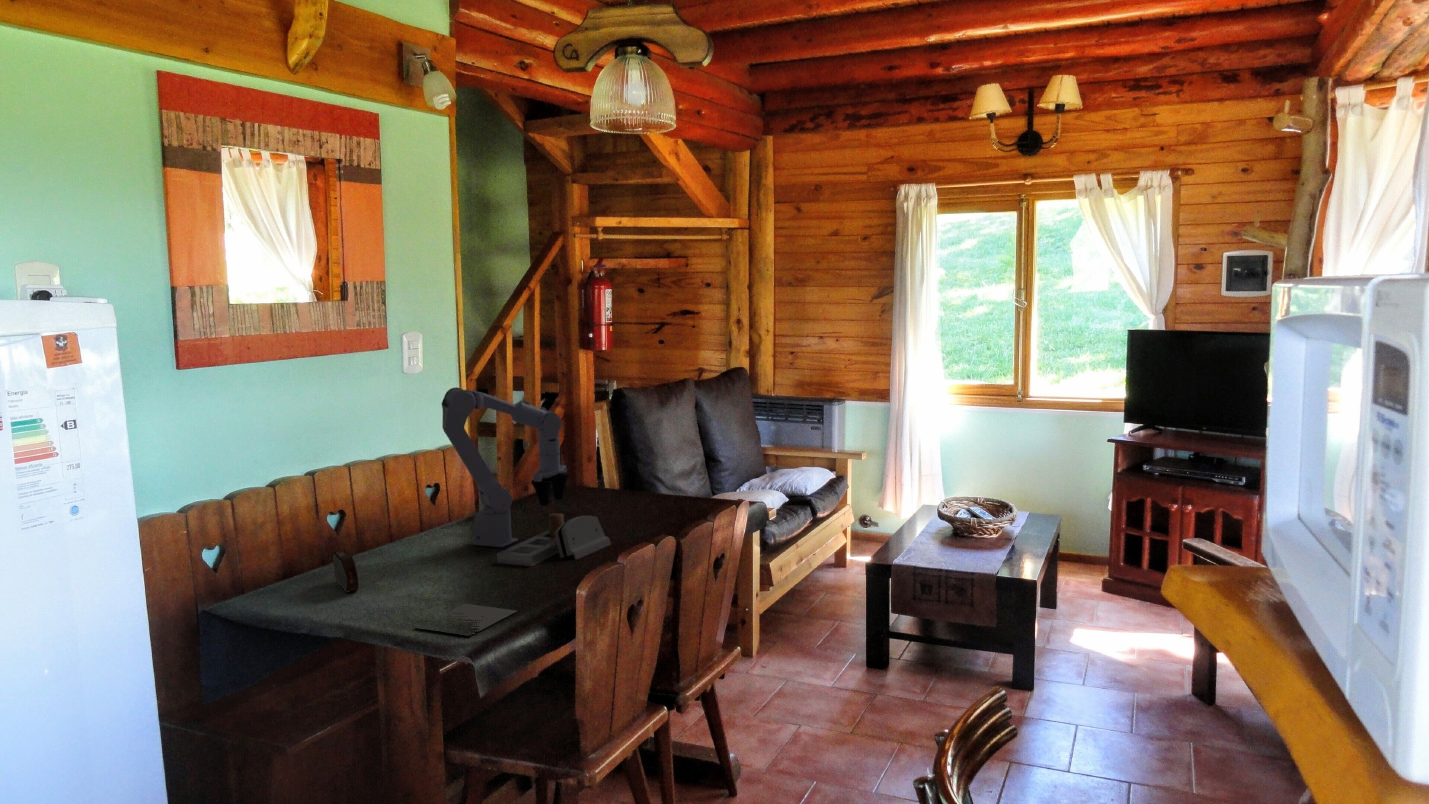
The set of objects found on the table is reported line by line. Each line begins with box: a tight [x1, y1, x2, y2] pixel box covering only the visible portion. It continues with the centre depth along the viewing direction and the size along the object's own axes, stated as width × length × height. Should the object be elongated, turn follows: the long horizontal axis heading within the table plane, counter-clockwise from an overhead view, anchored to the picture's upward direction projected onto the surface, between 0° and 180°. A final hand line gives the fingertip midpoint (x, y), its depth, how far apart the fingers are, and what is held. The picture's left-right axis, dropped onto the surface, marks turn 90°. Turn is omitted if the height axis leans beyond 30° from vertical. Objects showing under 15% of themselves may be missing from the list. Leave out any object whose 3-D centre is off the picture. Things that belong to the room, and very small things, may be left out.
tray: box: [496, 529, 559, 567], centre depth 258 cm, size 10×26×2 cm, turn 159°
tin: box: [331, 548, 359, 592], centre depth 230 cm, size 15×3×8 cm, turn 32°
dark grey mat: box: [445, 603, 518, 635], centre depth 210 cm, size 23×25×1 cm
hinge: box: [555, 515, 612, 560], centre depth 258 cm, size 17×5×10 cm, turn 153°
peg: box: [548, 512, 565, 538], centre depth 265 cm, size 4×4×8 cm
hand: (551, 502), depth 274 cm, fingers open, 7 cm apart
